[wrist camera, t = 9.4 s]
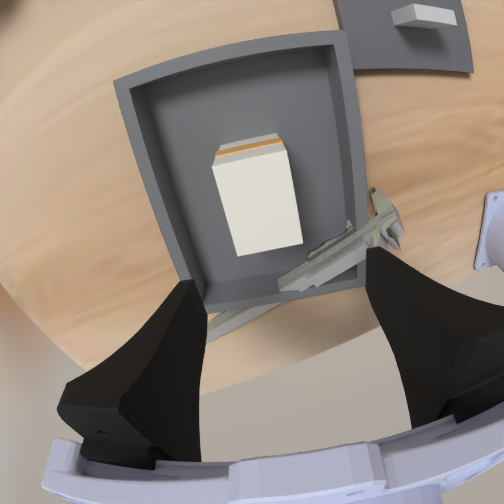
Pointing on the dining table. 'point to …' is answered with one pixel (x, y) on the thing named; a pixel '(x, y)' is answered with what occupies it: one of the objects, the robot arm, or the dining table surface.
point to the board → (406, 34)
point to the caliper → (325, 261)
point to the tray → (241, 128)
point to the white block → (258, 194)
